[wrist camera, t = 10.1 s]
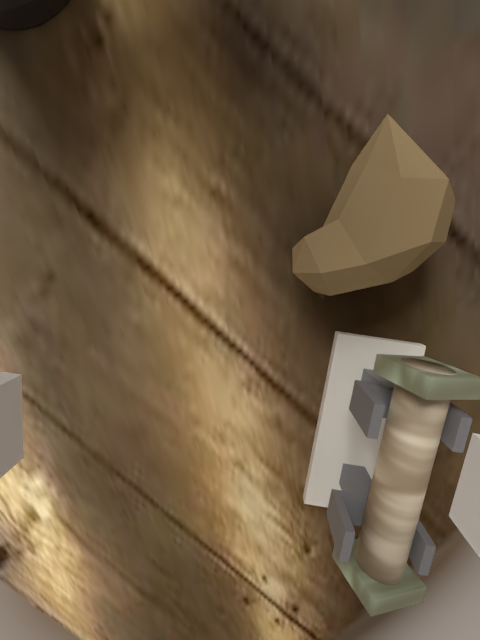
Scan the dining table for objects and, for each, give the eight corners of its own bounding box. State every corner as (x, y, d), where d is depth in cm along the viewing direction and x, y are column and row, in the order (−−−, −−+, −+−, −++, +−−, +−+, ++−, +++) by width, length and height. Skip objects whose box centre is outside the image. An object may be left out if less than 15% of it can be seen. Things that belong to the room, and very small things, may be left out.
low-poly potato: (416, 149, 32) (324, 99, 27) (530, 169, 23) (427, 101, 18) (344, 285, 38) (259, 266, 33) (411, 340, 30) (310, 325, 25)
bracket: (335, 330, 35) (371, 361, 24) (420, 343, 34) (496, 380, 23) (302, 496, 38) (320, 590, 27) (379, 509, 38) (429, 609, 27)
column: (376, 353, 27) (431, 378, 22) (425, 356, 29) (486, 379, 24) (331, 556, 31) (370, 616, 26) (377, 547, 33) (422, 602, 28)
